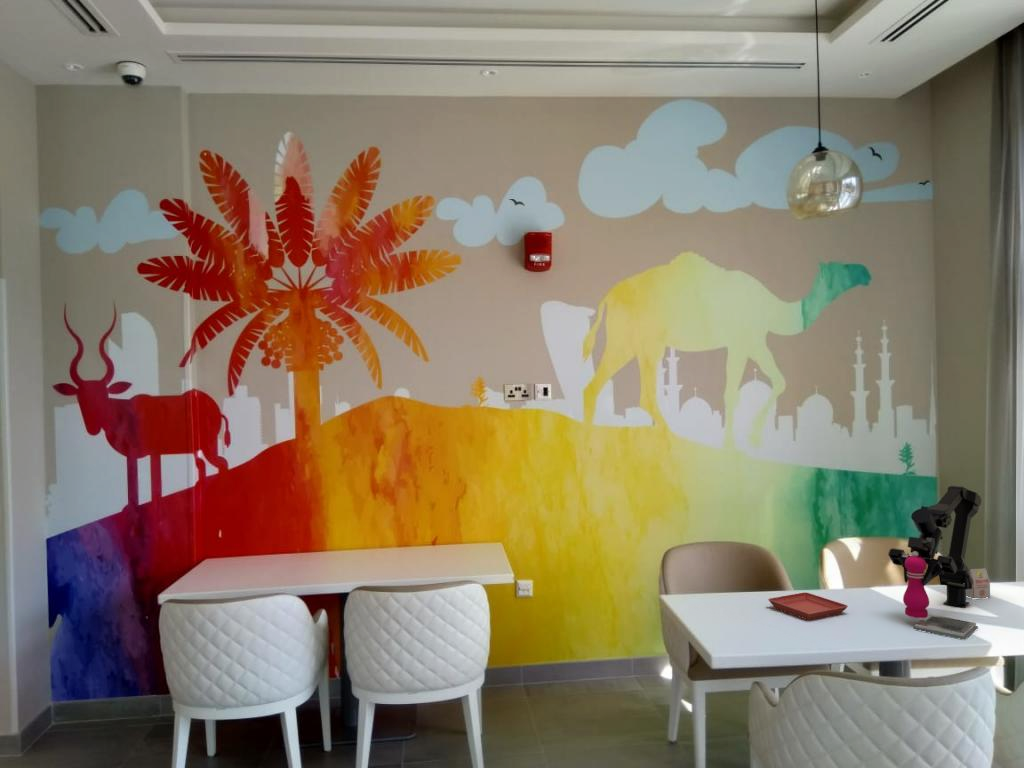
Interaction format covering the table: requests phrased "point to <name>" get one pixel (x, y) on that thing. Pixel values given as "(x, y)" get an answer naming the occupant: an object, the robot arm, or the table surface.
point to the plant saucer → (807, 605)
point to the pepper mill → (915, 587)
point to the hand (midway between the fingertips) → (914, 583)
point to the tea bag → (979, 584)
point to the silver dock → (946, 626)
